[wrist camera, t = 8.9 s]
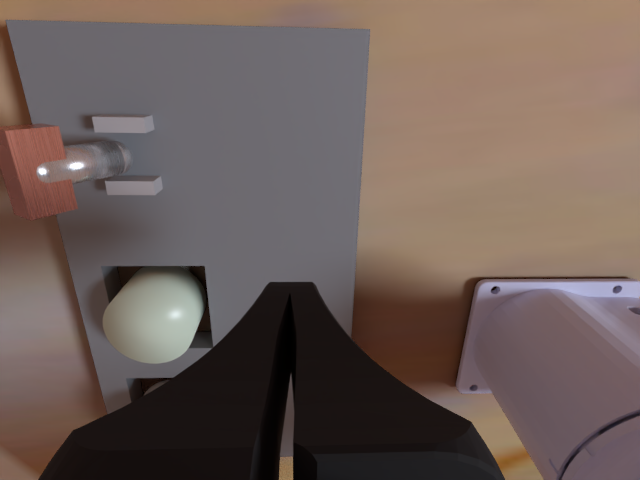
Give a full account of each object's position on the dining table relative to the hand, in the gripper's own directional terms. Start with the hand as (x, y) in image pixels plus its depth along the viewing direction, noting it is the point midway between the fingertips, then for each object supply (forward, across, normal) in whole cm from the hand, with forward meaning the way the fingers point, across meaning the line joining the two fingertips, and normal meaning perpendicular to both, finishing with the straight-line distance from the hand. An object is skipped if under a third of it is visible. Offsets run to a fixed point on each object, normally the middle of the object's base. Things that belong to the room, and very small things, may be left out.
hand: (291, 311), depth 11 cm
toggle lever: (+7, +7, -3) cm, 11 cm away
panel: (+9, +4, +4) cm, 11 cm away
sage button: (+9, +7, +5) cm, 12 cm away
